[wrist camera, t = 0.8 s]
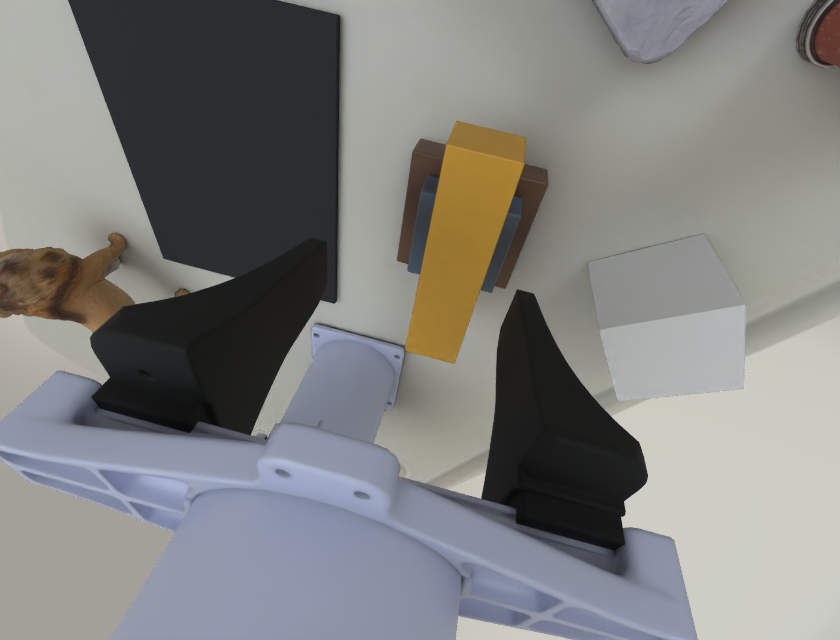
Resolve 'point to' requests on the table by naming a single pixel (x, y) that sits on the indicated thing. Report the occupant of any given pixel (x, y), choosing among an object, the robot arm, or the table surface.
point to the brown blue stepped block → (422, 202)
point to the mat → (224, 123)
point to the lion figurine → (63, 284)
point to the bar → (463, 235)
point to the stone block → (654, 24)
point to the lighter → (820, 34)
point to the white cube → (669, 320)
